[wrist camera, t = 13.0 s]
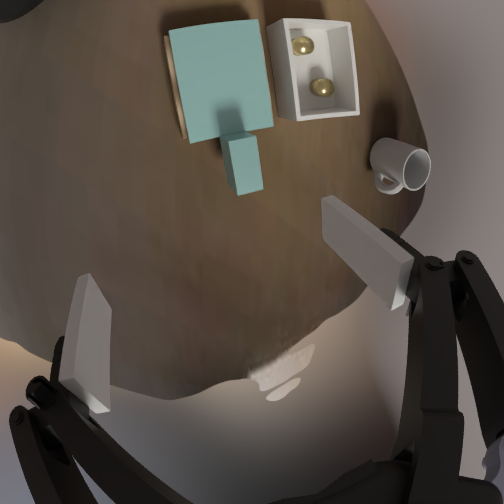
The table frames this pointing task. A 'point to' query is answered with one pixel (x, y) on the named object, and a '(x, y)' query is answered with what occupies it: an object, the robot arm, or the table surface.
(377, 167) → the cup
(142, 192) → the table surface
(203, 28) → the lid
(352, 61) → the tub
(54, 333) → the table surface
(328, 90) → the gold round piece
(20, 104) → the table surface
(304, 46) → the gold metallic ball
